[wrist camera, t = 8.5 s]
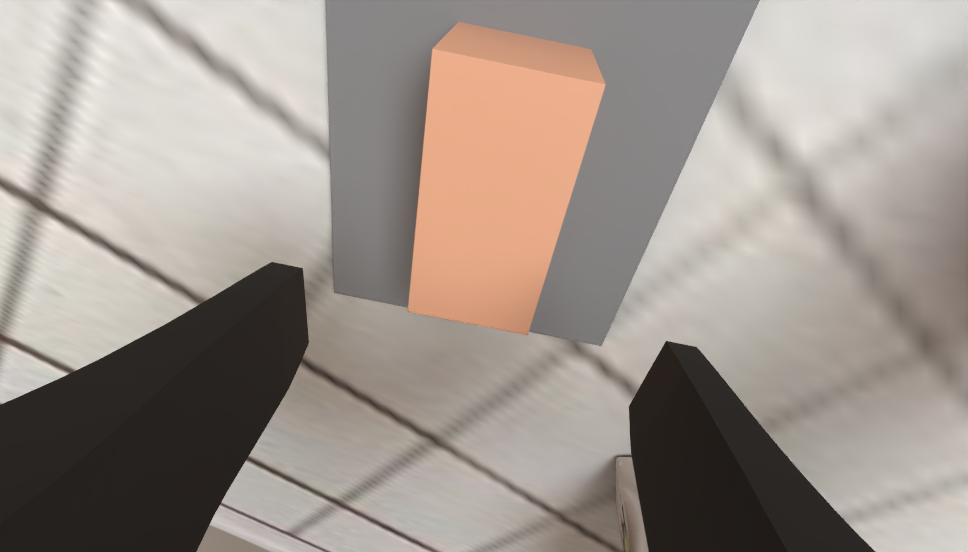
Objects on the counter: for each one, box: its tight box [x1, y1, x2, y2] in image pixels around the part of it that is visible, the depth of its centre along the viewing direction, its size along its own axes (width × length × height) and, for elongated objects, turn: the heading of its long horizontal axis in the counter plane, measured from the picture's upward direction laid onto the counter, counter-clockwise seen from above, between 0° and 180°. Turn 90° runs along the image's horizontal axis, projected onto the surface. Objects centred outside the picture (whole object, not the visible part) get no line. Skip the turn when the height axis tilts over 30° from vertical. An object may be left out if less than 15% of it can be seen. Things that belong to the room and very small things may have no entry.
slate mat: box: [326, 0, 760, 346], centre depth 17 cm, size 12×14×1 cm
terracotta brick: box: [408, 22, 606, 335], centre depth 15 cm, size 8×4×4 cm, turn 170°
